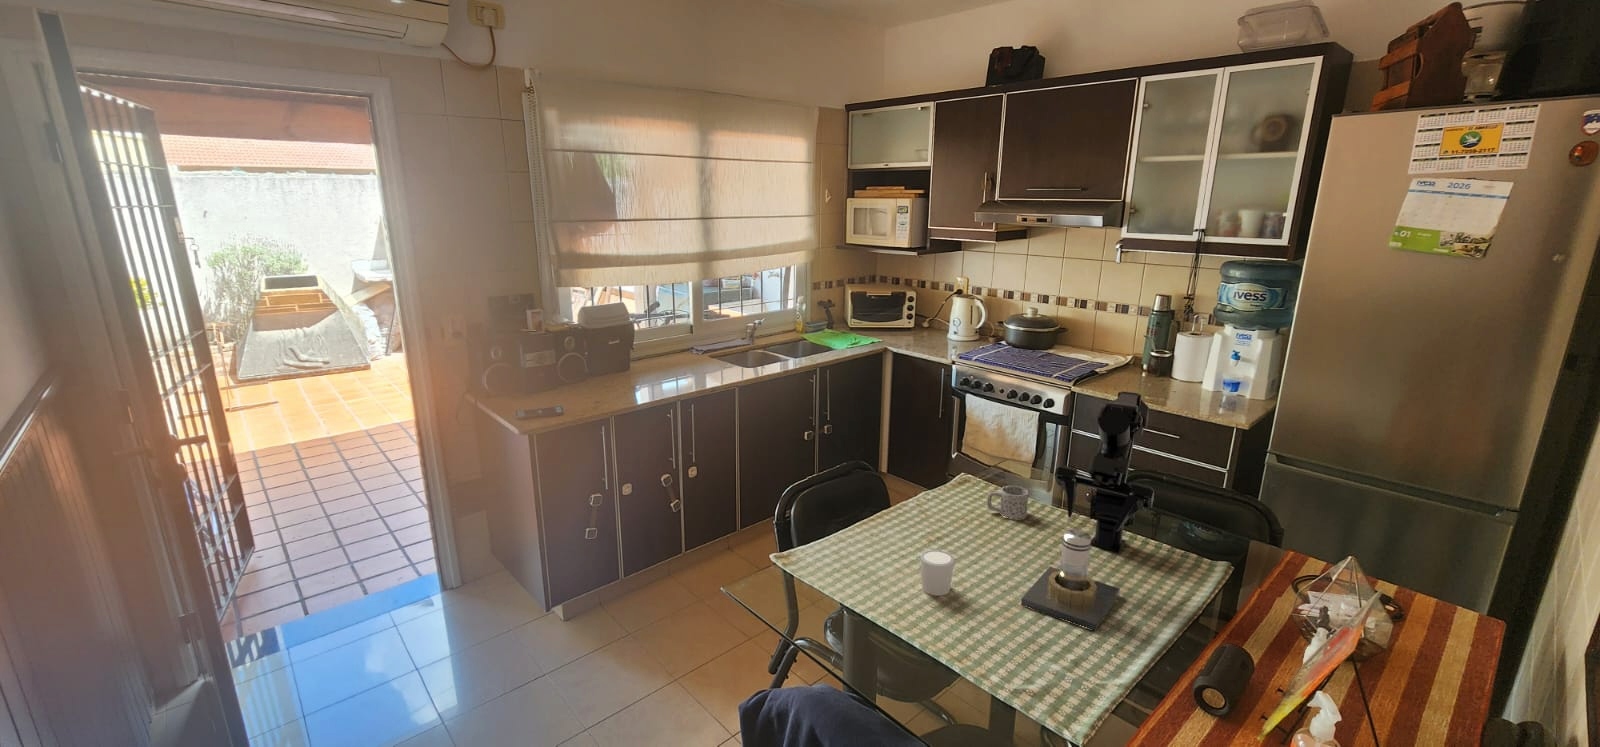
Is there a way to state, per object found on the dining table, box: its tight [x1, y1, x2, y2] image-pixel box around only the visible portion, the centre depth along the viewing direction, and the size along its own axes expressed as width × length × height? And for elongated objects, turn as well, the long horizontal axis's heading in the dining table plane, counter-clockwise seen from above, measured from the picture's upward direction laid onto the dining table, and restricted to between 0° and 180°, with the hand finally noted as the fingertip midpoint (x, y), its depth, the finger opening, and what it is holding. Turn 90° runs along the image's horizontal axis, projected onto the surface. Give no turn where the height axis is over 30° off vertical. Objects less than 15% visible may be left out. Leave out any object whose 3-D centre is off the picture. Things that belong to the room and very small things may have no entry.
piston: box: [1058, 529, 1092, 591], centre depth 132 cm, size 5×5×12 cm
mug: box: [986, 485, 1029, 520], centre depth 173 cm, size 10×7×7 cm, turn 77°
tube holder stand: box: [1020, 566, 1121, 632], centre depth 133 cm, size 16×14×4 cm
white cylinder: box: [919, 549, 956, 597], centre depth 137 cm, size 7×7×7 cm
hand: (1092, 523), depth 137 cm, fingers open, 9 cm apart
